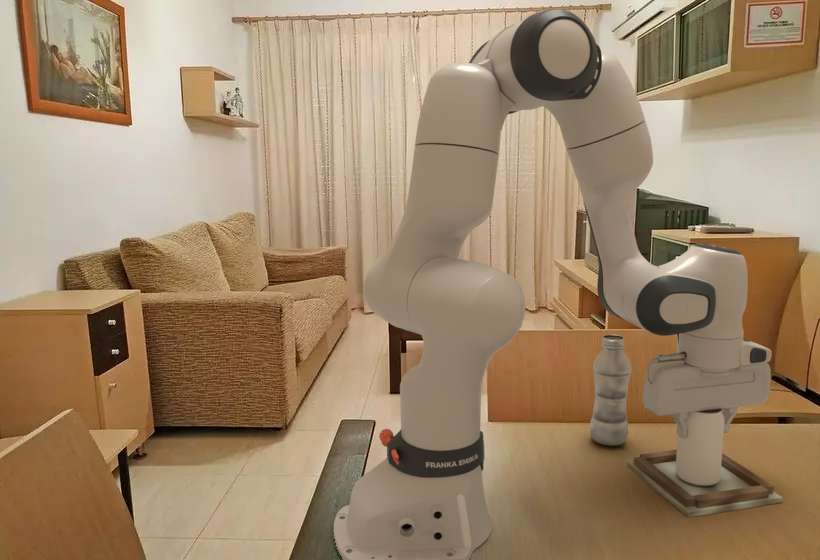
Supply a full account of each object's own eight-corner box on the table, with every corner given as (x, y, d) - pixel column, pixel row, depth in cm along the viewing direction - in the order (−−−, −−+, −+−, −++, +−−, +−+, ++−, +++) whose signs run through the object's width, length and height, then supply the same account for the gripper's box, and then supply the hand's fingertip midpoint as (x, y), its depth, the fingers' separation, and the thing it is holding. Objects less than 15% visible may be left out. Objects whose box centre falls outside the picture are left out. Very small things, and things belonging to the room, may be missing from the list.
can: (729, 484, 97) (735, 411, 95) (693, 490, 95) (698, 416, 93) (701, 465, 103) (705, 396, 101) (666, 470, 102) (670, 400, 99)
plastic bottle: (586, 434, 118) (590, 331, 114) (624, 435, 117) (629, 332, 113) (591, 449, 111) (596, 342, 107) (631, 451, 110) (636, 343, 107)
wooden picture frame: (687, 517, 90) (688, 504, 90) (626, 465, 105) (627, 454, 105) (781, 502, 93) (783, 490, 93) (709, 454, 109) (710, 443, 108)
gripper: (661, 362, 90) (655, 450, 93) (781, 350, 94) (772, 435, 97) (636, 349, 96) (631, 433, 99) (750, 338, 100) (743, 419, 103)
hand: (702, 434), depth 98 cm, fingers closed on can, 5 cm apart
